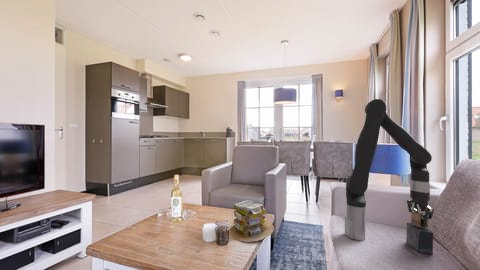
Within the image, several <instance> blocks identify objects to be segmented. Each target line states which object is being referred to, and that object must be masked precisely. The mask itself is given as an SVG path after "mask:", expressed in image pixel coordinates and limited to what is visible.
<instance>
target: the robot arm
mask: <svg viewBox="0 0 480 270" xmlns="http://www.w3.org/2000/svg"><path fill="white" fill-rule="evenodd" d="M387 108H388V106H387V103H386V102H385V100H383V99H381V98H376V99H375V98H374V99H372V100H370V101H369V102H367V104H366V105H365V107H364V112H365V120H364V124H363V127H362V129H361V132H360V133H359V136H358V139H357V142H356V146H355V151H354V168H353V172H352V175H349V176H348V177H347V179H346V182H345V199H346V215H345V217H344V235H345V236H346V237H347V238H348V239H350V240H351V239H352V240H356V241H365V240H366V225H367V224H366V223H367V222H366V221H367V220H366V219H367V218H366V216H367V215H366V214H367V213H366V212H367V207H366V206H367V202H366V196H365V193H366V191H367V190H368V186H369V179H370V172H371V168H372V165H373V161H374V158H375V154H376V152H377V147H378V142H379V136H380V132H381V131H380V129H381V128H382V129H383V130H384V131H385V132H386V133H387V134H388V135H389V136H390V137H391V138H392V140H393V141H394V142H395V143H396V144H397V145H398V146H399V147H400V148H401V149H402V150H404V151H405V152H406V153H407V154H408V155H409V165H410V170H411V171H410V183H409V198H410V199H406V204H407V209H408V212H409V213H411V212H419V214H420V215H421V226H422V227H425V228H426V226H427V219H428V220H432V218H433V215H434V211H435V209H434V207H431V206H429V201H430V200H431V183H430V171H429V170H428V168H427V167H428V166H427V165H428V164H431V161H432V159H433V158H432V157H433V156H432V154H431V153H430V151H428V150H427V149H426V148H425V146H423V145H422V144H420V143H419V142H418V141H416V139H415V138H414V137H413V136H412V135H411V134H410V133H409V132H408V131H407V129H405V128H404V127H403V126H401V125H400V124H398V123H397V122H396V121H395V120H393V119H392V118H391V117H390V116H389V114H388V113H387ZM423 214H424V215H425V216H423Z"/></svg>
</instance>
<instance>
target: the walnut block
mask: <svg viewBox="0 0 480 270" xmlns="http://www.w3.org/2000/svg"><path fill="white" fill-rule="evenodd" d="M410 213H411V214H410V215H411V218H410V219H411V220H410V221H411V222H410V223H411V224H413V225H415V226H417V227H422V226H421V215H420V214H419V212H416V211H415V212H410ZM423 216H425V215H424V214H423ZM425 228H427V229H429V219H427V226H426V227H425Z"/></svg>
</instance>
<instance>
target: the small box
mask: <svg viewBox="0 0 480 270" xmlns="http://www.w3.org/2000/svg"><path fill="white" fill-rule="evenodd" d="M405 239H406V244H408V245H409V246H410V247H411V249H414V250H415V251H416V252H418V253H421V254H427V255H433V253H434V232H433V231H432V230H430V229H429V228H426V227H417V226H415V225H413V224H411V222H406V238H405Z"/></svg>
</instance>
